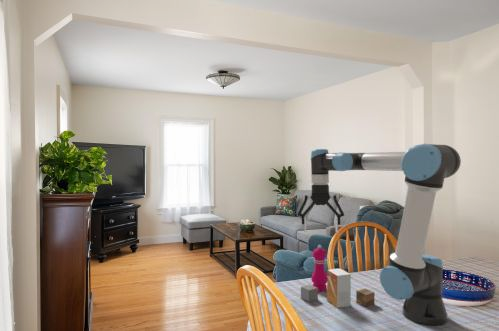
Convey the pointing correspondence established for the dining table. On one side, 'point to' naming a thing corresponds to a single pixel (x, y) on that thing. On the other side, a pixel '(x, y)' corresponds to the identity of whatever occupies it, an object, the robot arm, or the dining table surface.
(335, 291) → the small box
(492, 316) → the dining table surface
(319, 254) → the pepper mill
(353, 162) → the robot arm
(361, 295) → the walnut block
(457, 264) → the dining table surface
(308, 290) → the charcoal block
